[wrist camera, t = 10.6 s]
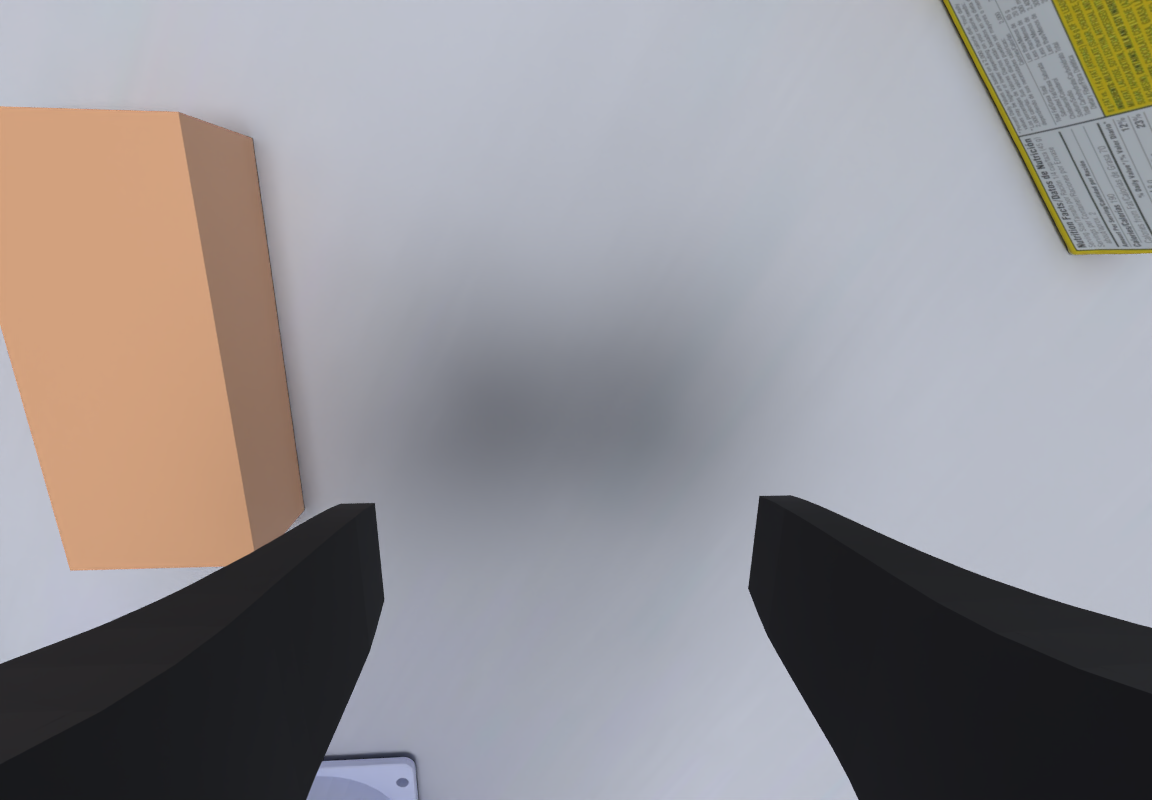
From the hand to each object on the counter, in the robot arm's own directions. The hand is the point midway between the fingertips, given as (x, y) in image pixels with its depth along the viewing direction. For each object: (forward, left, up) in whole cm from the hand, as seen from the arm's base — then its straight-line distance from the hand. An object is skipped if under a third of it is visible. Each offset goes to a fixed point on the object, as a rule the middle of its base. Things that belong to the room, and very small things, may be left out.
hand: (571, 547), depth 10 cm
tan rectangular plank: (+2, +12, -10) cm, 16 cm away
